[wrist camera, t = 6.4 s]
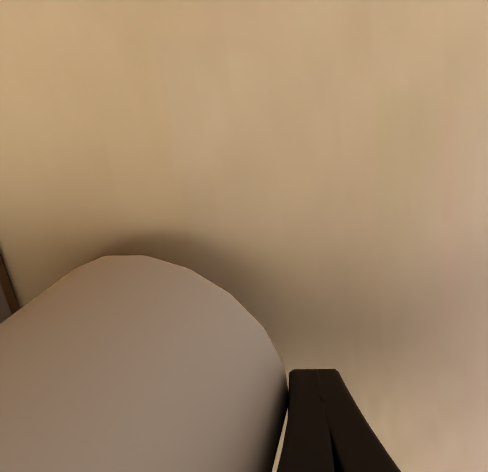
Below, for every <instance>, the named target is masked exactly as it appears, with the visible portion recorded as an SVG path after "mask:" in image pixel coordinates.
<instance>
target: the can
mask: <svg viewBox="0 0 488 472" xmlns="http://www.w3.org/2000/svg"><path fill="white" fill-rule="evenodd" d="M288 405H289V392H288V386H287V379H286V373H285V367H284V363H283V362H282V360H281V358H280V356H279V354H278V352H277V351H276V349H275V347H274V345H273V343H272V342H271V340H270V338H269V336H268V334H267V332H266V331H265V329H264V327H263V326H262V325H261V324H260V323H259V322H258V321H257V320H256V319H255V318H254V317H253V316H252V315H251V314H250V313H249V312H248V311H247V310H246V309H245V308H244V307H243V306H242V305H241V304H240V303H239V302H238V301H237V300H236V299H235V298H234V297H233V296H232V295H231V294H230V293H229V292H227V291H225V290H224V289H222V288H220V287H219V286H217V285H215V284H214V283H212V282H210V281H209V280H207V279H205V278H204V277H202V276H200V275H199V274H197V273H196V272H194V271H192V270H191V269H189V268H186V267H183V266H179V265H176V264H173V263H169V262H166V261H162V260H159V259H156V258H152V257H149V256H145V255H123V256H103V257H101V258H98V259H96V260H93V261H91V262H89V263H86V264H84V265H81V266H79V267H76V268H74V269H73V270H72V271H70V272H69V273H68V274H66V275H65V276H64V277H62V278H61V279H60V280H58V281H57V282H56V283H54V284H53V285H52V286H50V287H49V288H48V289H46V290H45V291H44V292H42V293H41V294H40V295H38V296H37V297H36V298H34V299H33V300H32V301H30V302H29V303H27V304H26V305H25V306H23V307H22V308H21V309H19V310H18V311H17V312H15V313H14V314H13V315H11V316H10V317H9V318H7V319H6V320H5V321H3V322H2V323H1V324H0V472H272V468H273V464H274V460H275V456H276V452H277V448H278V444H279V440H280V436H281V432H282V428H283V424H284V420H285V416H286V412H287V408H288Z"/></svg>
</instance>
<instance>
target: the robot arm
mask: <svg viewBox="0 0 488 472" xmlns="http://www.w3.org/2000/svg"><path fill="white" fill-rule="evenodd" d="M277 472H401V471H400V470H399V468H398V467H397V466H396V464H395V463H394V461H393V460H392V459H391V457H390V456H389V454H388V453H387V451H386V450H385V448H384V447H383V445H382V444H381V442H380V441H379V439H378V438H377V436H376V435H375V433H374V432H373V430H372V429H371V427H370V426H369V424H368V423H367V421H366V420H365V418H364V416H363V415H362V413H361V411H360V410H359V408H358V406H357V405H356V403H355V401H354V400H353V398H352V396H351V394H350V393H349V391H348V389H347V387H346V385H345V383H344V382H343V380H342V378H341V376H340V374H339V372H338V371H337V370H336V369H294V370H292V371H291V372H290V373H289V405H288V420H287V426H286V432H285V437H284V443H283V448H282V452H281V457H280V461H279V465H278V469H277Z"/></svg>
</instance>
